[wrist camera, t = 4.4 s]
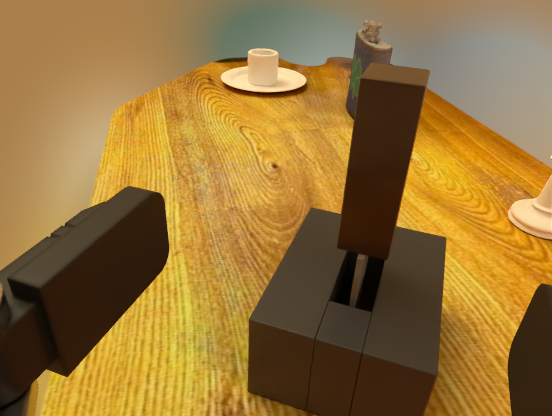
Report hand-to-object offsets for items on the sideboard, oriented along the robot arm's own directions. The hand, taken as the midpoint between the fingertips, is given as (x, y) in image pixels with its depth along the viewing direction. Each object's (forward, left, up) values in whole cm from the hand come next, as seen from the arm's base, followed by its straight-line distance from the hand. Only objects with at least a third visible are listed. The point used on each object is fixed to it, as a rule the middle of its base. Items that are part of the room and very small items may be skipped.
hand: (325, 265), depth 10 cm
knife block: (0, +11, -14) cm, 17 cm away
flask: (-6, +47, -14) cm, 49 cm away
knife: (0, +11, -14) cm, 17 cm away
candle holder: (-21, +53, -14) cm, 58 cm away
